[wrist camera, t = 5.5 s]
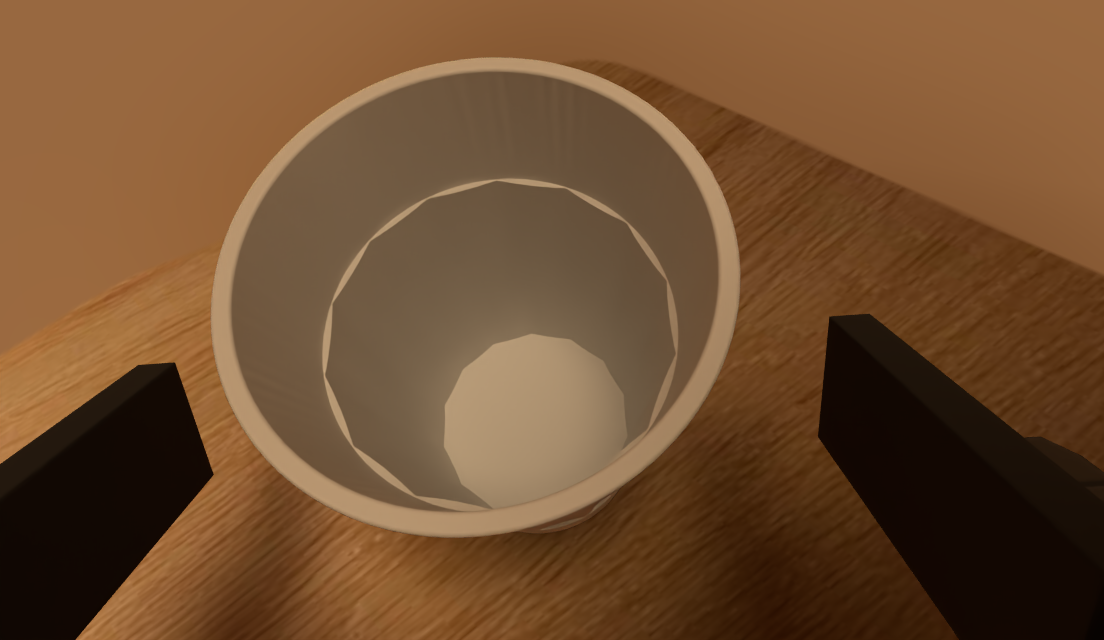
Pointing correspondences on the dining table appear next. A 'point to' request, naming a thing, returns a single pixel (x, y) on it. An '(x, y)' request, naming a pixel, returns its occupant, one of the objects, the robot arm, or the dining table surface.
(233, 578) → the dining table surface
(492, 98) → the cup
